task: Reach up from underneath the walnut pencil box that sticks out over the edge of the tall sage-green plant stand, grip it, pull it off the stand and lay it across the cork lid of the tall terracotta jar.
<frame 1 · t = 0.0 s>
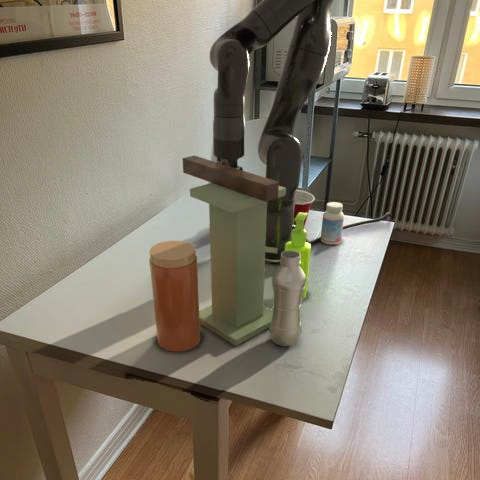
hand: (229, 202, 124), 17 cm above the table, tool pointing down, fingers open, 8 cm apart
plastic bottle: (284, 341, 103), on the table
plant stand: (237, 320, 110), on the table
pill bottle: (330, 241, 147), on the table
terracotta jar: (179, 338, 104), on the table
plastic cup: (293, 233, 152), on the table
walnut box: (227, 184, 95), point 30 cm above the table, touching plant stand
soap dispenser: (294, 294, 120), on the table
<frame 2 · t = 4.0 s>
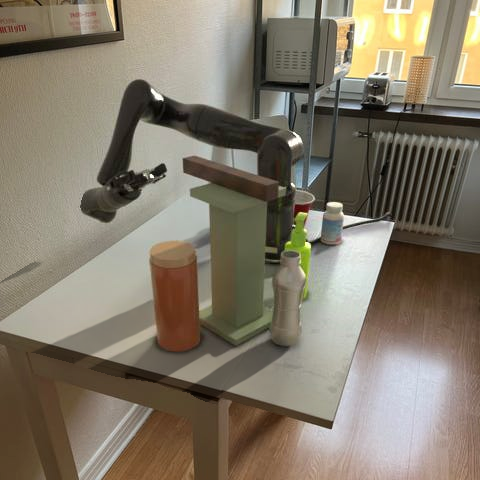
hand: (149, 170, 114), 27 cm above the table, tool pointing upward, fingers open, 8 cm apart
nothing on the table moved.
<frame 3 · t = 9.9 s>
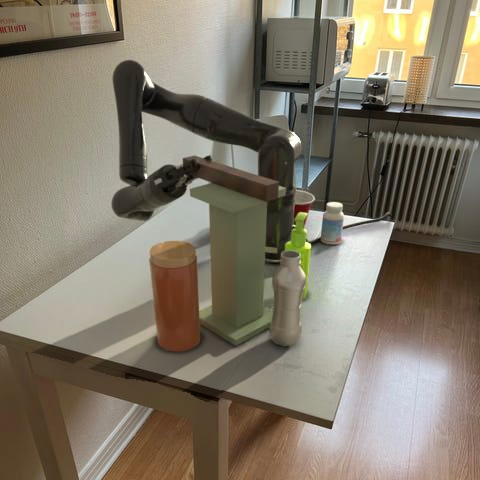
hand: (204, 161, 98), 33 cm above the table, tool pointing upward, fingers closed on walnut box, 3 cm apart
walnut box: (227, 184, 95), point 30 cm above the table, touching gripper, plant stand
everything else where it was.
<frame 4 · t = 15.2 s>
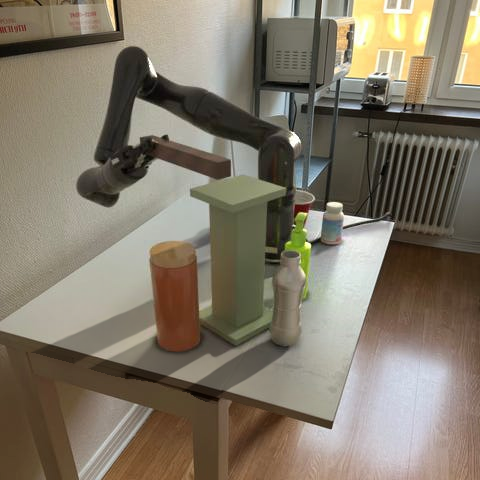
hand: (160, 141, 96), 37 cm above the table, tool pointing upward, fingers closed on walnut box, 3 cm apart
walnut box: (182, 163, 93), point 34 cm above the table, touching gripper
everything else where it was.
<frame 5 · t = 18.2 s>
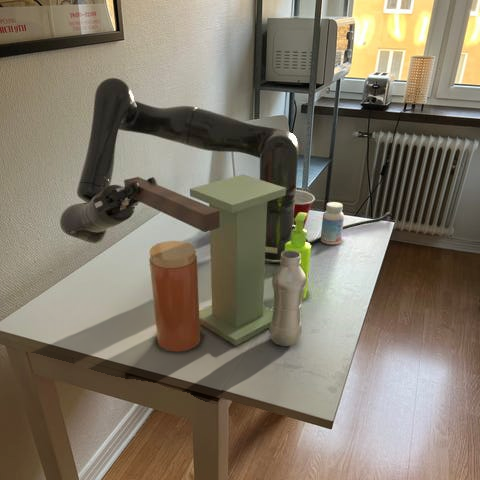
hand: (145, 184, 91), 31 cm above the table, tool pointing upward, fingers closed on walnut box, 3 cm apart
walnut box: (169, 210, 88), point 28 cm above the table, touching gripper
everything else where it was.
when the fingers open (23 cm above the table, at t = 20.7 s): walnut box stays where it is, resting on terracotta jar.
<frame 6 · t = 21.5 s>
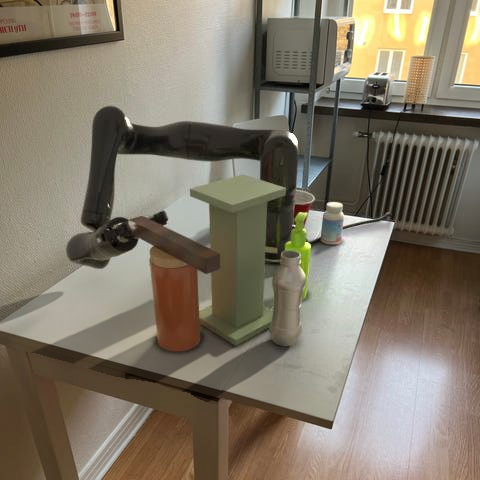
hand: (147, 221, 95), 24 cm above the table, tool pointing upward, fingers open, 8 cm apart
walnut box: (172, 250, 92), point 20 cm above the table, touching terracotta jar
everything else where it was.
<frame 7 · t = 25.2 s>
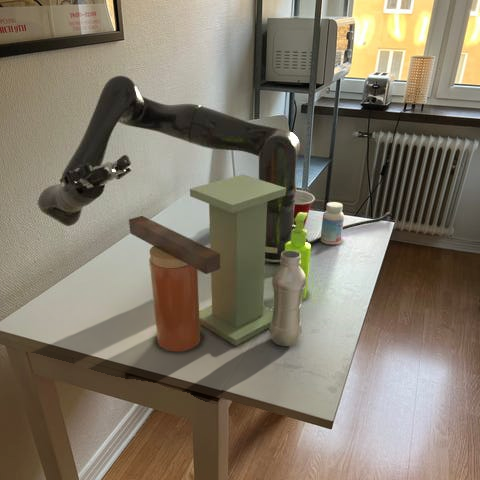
hand: (109, 163, 98), 33 cm above the table, tool pointing upward, fingers open, 8 cm apart
nothing on the table moved.
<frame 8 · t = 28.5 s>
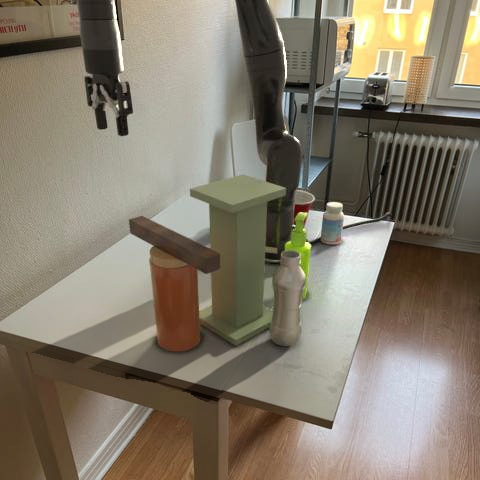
hand: (112, 132, 106), 36 cm above the table, tool pointing down, fingers open, 8 cm apart
nothing on the table moved.
at the end: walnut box inside the target area on the terracotta jar (0.1 cm from its centre), point 20.5 cm above the terracotta jar's base; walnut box tilted 0°; the gripper is holding nothing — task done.
